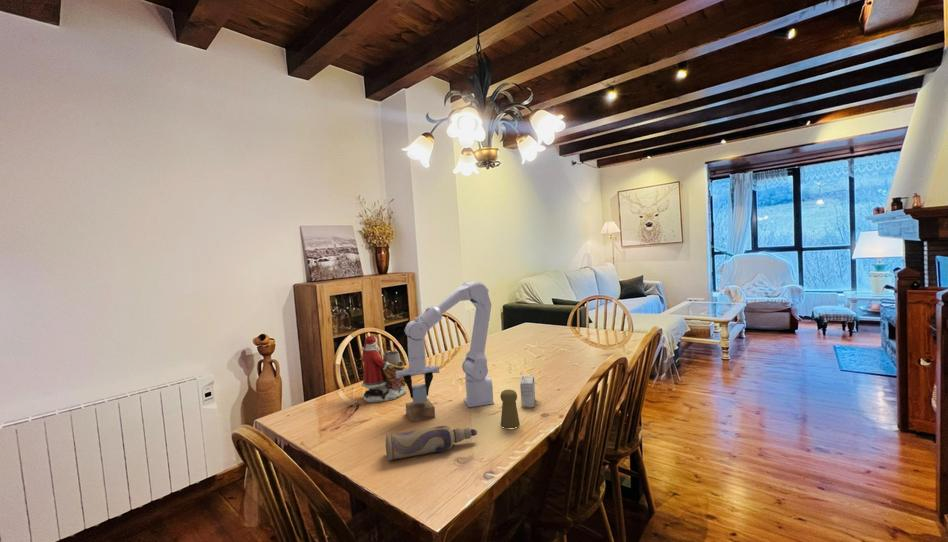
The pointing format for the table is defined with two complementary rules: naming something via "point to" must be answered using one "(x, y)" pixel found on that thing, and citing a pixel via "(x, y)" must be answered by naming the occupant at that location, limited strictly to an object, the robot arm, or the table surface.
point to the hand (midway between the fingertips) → (419, 395)
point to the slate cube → (419, 393)
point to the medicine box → (527, 391)
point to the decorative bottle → (424, 441)
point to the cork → (509, 409)
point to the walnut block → (420, 411)
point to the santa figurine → (381, 373)
